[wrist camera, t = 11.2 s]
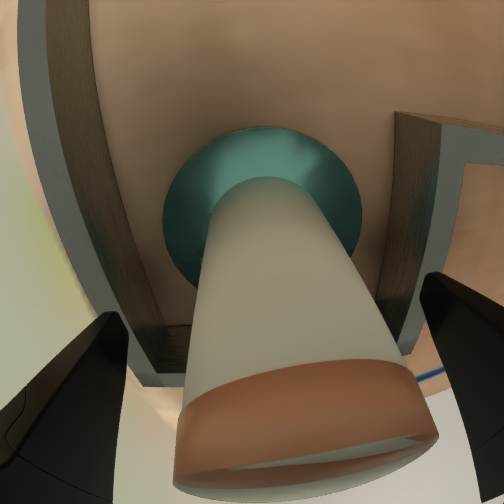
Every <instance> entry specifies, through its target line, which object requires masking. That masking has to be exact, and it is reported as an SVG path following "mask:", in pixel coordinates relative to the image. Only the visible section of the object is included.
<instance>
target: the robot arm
mask: <svg viewBox="0 0 504 504" xmlns="http://www.w3.org/2000/svg"><path fill="white" fill-rule="evenodd" d="M419 300H420V304H421V307H422V309H423V312H424V315H425V318H426V321H427V323H428V326H429V329H430V332H431V336H432V338H433V341H434V344H435V346H436V349H437V351H438V354H439V356H440V359H441V361H442V364H443V366H444V369H445V371H446V374H447V376H448V379H449V382H450V384H451V387H452V390H453V393H454V395H455V398H456V401H457V404H458V407H459V410H460V413H461V416H462V420H463V423H464V427H465V430H466V433H467V437H468V441H469V445H470V448H471V452H472V457H473V461H474V466H475V470H476V475H477V481H478V486H479V492H480V498H481V502H482V503H483V502H486V501H488V500H491V499H493V498H495V497H498V496H500V495H502V494H504V307H503V306H501V305H499V304H498V303H496V302H494V301H492V300H491V299H489V298H487V297H485V296H484V295H482V294H480V293H478V292H476V291H475V290H473V289H471V288H469V287H467V286H465V285H463V284H462V283H460V282H458V281H456V280H454V279H452V278H450V277H448V276H446V275H445V274H443V273H441V272H438V271H435V272H430V273H427V274H426V275H425V277H424V281H423V284H422V287H421V291H420V294H419ZM128 345H129V333H128V330H127V328H126V326H125V324H124V322H123V320H122V318H121V316H120V315H119V313H118V312H116V311H106V312H103V313H102V314H101V315H100V316H99V317H98V318H96V319H95V320H94V321H93V322H92V323H91V324H90V325H89V326H88V327H87V328H85V329H84V330H83V331H82V332H81V333H80V334H79V335H78V336H77V337H76V338H75V339H73V341H71V342H70V343H69V344H68V345H67V346H66V347H65V348H64V349H63V350H62V351H61V352H60V353H59V354H58V355H56V356H55V357H54V358H53V359H52V360H51V361H50V362H49V363H48V364H47V365H46V366H45V367H44V368H43V369H42V370H41V371H40V372H39V373H38V374H37V375H36V376H35V377H34V378H33V379H32V380H31V381H30V382H29V383H28V384H27V386H25V387H24V388H23V389H22V390H21V391H20V392H19V393H18V394H17V395H16V396H15V397H14V398H13V399H12V400H11V401H10V402H9V403H8V404H7V405H6V406H5V407H4V408H3V409H2V410H0V504H113V502H112V501H113V484H114V469H115V457H116V447H117V438H118V430H119V421H120V414H121V407H122V401H123V394H124V387H125V381H126V368H127V356H128ZM503 504H504V503H503Z"/></svg>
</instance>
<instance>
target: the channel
mask: <svg viewBox="0 0 504 504" xmlns="http://www.w3.org/2000/svg"><path fill="white" fill-rule="evenodd" d="M17 45H18V65H19V76H20V86H21V94H22V101H23V107H24V114H25V119H26V124H27V130H28V134H29V139H30V143H31V148H32V152H33V156H34V160H35V164H36V167H37V171H38V174H39V178H40V181H41V184H42V188H43V191H44V194H45V197H46V200H47V203H48V206H49V209H50V212H51V214H52V217H53V220H54V223H55V225H56V228H57V230H58V233H59V235H60V238H61V240H62V243H63V245H64V248H65V250H66V252H67V255H68V257H69V259H70V261H71V264H72V266H73V268H74V270H75V272H76V274H77V276H78V279H79V281H80V283H81V285H82V287H83V289H84V291H85V293H86V295H87V296H88V298H89V300H90V302H91V304H92V306H93V308H94V310H95V311H96V313H97V315H98V317H99V316H100V315H101V314H102V313H103V312H106V311H116V312H118V313H119V315H120V316H121V318H122V320H123V322H124V324H125V326H126V328H127V330H128V333H129V345H128V356H127V364H128V366H129V367H130V369H131V370H132V371H133V373H134V374H135V376H136V377H137V379H138V380H139V381H140V383H141V384H142V386H143V387H184V386H185V378H186V369H187V361H188V353H189V346H190V338H191V331H192V325H191V326H176V327H166V324H165V322H164V320H163V317H162V315H161V313H160V310H159V308H158V305H157V303H156V300H155V298H154V295H153V293H152V290H151V288H150V285H149V283H148V280H147V277H146V275H145V272H144V269H143V266H142V264H141V261H140V258H139V255H138V252H137V249H136V246H135V243H134V240H133V237H132V234H131V231H130V228H129V225H128V222H127V219H126V215H125V212H124V209H123V205H122V202H121V198H120V195H119V191H118V188H117V184H116V180H115V176H114V173H113V169H112V165H111V160H110V156H109V152H108V148H107V143H106V139H105V134H104V129H103V124H102V119H101V114H100V108H99V103H98V97H97V90H96V84H95V77H94V69H93V61H92V52H91V42H90V29H89V11H88V0H18V19H17ZM465 162H467V163H480V164H491V165H501V166H504V129H502V128H498V127H494V126H490V125H485V124H481V123H476V122H471V121H465V120H460V119H454V118H448V117H441V116H434V115H426V114H417V113H408V112H396V111H395V156H394V174H393V187H392V199H391V209H390V217H389V226H388V233H387V240H386V247H385V253H384V259H383V265H382V271H381V276H380V282H379V287H378V292H377V296H376V301H375V304H376V305H377V307H378V309H379V311H380V313H381V315H382V317H383V319H384V321H385V323H386V325H387V326H388V328H389V330H390V332H391V334H392V336H393V338H394V340H395V343H396V345H397V347H398V349H399V351H400V353H401V355H402V356H404V355H407V354H411V352H412V350H413V348H414V346H415V343H416V341H417V339H418V336H419V334H420V332H421V329H422V327H423V324H424V322H425V319H426V318H425V315H424V312H423V309H422V307H421V304H420V300H419V294H420V291H421V287H422V284H423V281H424V277H425V275H426V274H427V273H430V272H435V271H438V272H441V273H442V270H443V267H444V263H445V260H446V256H447V252H448V249H449V245H450V241H451V237H452V232H453V228H454V223H455V219H456V214H457V209H458V203H459V198H460V192H461V186H462V179H463V171H464V163H465ZM261 176H273V177H280V178H284V179H287V180H290V181H292V182H294V183H296V184H298V185H299V186H301V187H302V188H304V189H305V190H306V191H307V192H308V193H309V194H310V195H311V197H312V198H313V199H314V201H315V202H316V204H317V205H318V207H319V208H320V210H321V212H322V213H323V215H324V216H325V218H326V219H327V221H328V223H329V224H330V226H331V227H332V229H333V231H334V232H335V234H336V236H337V237H338V239H339V240H340V242H341V244H342V245H343V247H344V249H345V250H346V252H347V254H348V256H349V257H351V255H352V254H353V251H354V249H355V247H356V245H357V242H358V238H359V235H360V230H361V223H362V207H361V200H360V195H359V192H358V188H357V186H356V183H355V181H354V179H353V177H352V175H351V173H350V172H349V170H348V169H347V167H346V166H345V164H344V163H343V162H342V161H341V160H340V159H339V158H338V157H337V155H336V154H334V153H333V152H332V151H331V150H330V149H328V148H327V147H326V146H325V145H323V144H321V143H320V142H318V141H316V140H315V139H313V138H311V137H309V136H307V135H304V134H302V133H299V132H296V131H293V130H289V129H285V128H277V127H252V128H247V129H241V130H237V131H234V132H231V133H228V134H225V135H223V136H221V137H219V138H217V139H215V140H213V141H211V142H209V143H208V144H206V145H205V146H203V147H202V148H200V149H199V150H198V151H197V152H196V153H195V154H194V155H193V156H191V157H190V158H189V159H188V161H187V162H186V163H185V164H184V165H183V167H182V168H181V169H180V170H179V172H178V174H177V175H176V177H175V179H174V180H173V182H172V184H171V186H170V189H169V191H168V194H167V196H166V201H165V205H164V210H163V233H164V238H165V243H166V246H167V249H168V251H169V254H170V256H171V258H172V260H173V262H174V264H175V265H176V267H177V268H178V269H179V271H180V272H181V274H182V275H183V276H184V277H185V278H186V279H187V280H188V281H189V282H190V283H191V284H193V285H194V286H195V287H196V288H197V289H198V285H199V279H200V273H201V267H202V261H203V255H204V249H205V244H206V238H207V233H208V227H209V222H210V217H211V214H212V211H213V209H214V207H215V205H216V203H217V202H218V200H219V199H220V198H221V197H222V196H223V194H224V193H225V192H227V191H228V190H229V189H230V188H232V187H233V186H235V185H236V184H238V183H240V182H242V181H245V180H248V179H251V178H255V177H261Z"/></svg>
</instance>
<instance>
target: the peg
mask: <svg viewBox="0 0 504 504" xmlns="http://www.w3.org/2000/svg"><path fill="white" fill-rule="evenodd" d="M438 438H439V433H438V431H437V428H436V426H435V423H434V421H433V418H432V416H431V413H430V411H429V408H428V406H427V403H426V401H425V399H424V396H423V394H422V392H421V390H420V387H419V385H418V383H417V381H416V378H415V376H414V375H413V373H412V372H411V371H410V370H409V369H408V368H407V366H406V363H405V361H404V359H403V357H402V355H401V353H400V351H399V349H398V347H397V345H396V343H395V340H394V338H393V336H392V334H391V332H390V330H389V328H388V326H387V325H386V323H385V321H384V319H383V317H382V315H381V313H380V311H379V309H378V307H377V305H376V304H375V302H374V300H373V298H372V296H371V294H370V292H369V291H368V289H367V287H366V285H365V283H364V282H363V280H362V278H361V276H360V275H359V273H358V271H357V269H356V268H355V266H354V264H353V262H352V261H351V259H350V257H349V256H348V254H347V252H346V250H345V249H344V247H343V245H342V244H341V242H340V240H339V239H338V237H337V236H336V234H335V232H334V231H333V229H332V227H331V226H330V224H329V223H328V221H327V219H326V218H325V216H324V215H323V213H322V212H321V210H320V208H319V207H318V205H317V204H316V202H315V201H314V199H313V198H312V197H311V195H310V194H309V193H308V192H307V191H306V190H305V189H304V188H302V187H301V186H299V185H298V184H296V183H294V182H292V181H290V180H287V179H284V178H280V177H273V176H261V177H255V178H251V179H248V180H245V181H242V182H240V183H238V184H236V185H235V186H233V187H232V188H230V189H229V190H228V191H227V192H225V193H224V194H223V196H222V197H221V198H220V199H219V200H218V202H217V203H216V205H215V207H214V209H213V211H212V214H211V217H210V222H209V227H208V233H207V238H206V244H205V249H204V255H203V261H202V267H201V273H200V279H199V285H198V291H197V297H196V304H195V311H194V317H193V324H192V331H191V338H190V346H189V353H188V361H187V369H186V378H185V386H184V395H183V405H182V411H181V413H180V415H179V418H178V425H177V436H176V447H175V458H174V472H173V485H174V486H175V487H176V488H177V489H179V490H180V491H183V492H185V493H187V494H191V495H194V496H198V497H202V498H207V499H212V500H219V501H228V502H242V503H243V502H244V503H267V502H282V501H292V500H299V499H306V498H312V497H318V496H322V495H327V494H331V493H335V492H339V491H343V490H346V489H350V488H353V487H356V486H359V485H362V484H365V483H368V482H370V481H373V480H376V479H378V478H380V477H383V476H385V475H387V474H389V473H392V472H394V471H396V470H397V469H400V468H402V467H403V466H405V465H407V464H409V463H410V462H412V461H414V460H415V459H417V458H418V457H420V456H421V455H422V454H424V453H425V452H427V451H428V450H429V449H430V448H431V447H432V446H433V445H434V444H435V443H436V442H437V440H438Z"/></svg>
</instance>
